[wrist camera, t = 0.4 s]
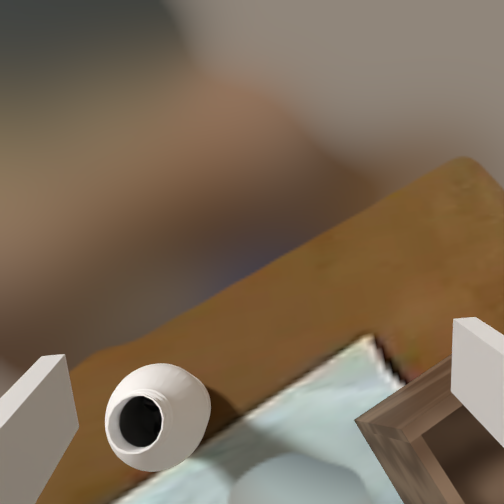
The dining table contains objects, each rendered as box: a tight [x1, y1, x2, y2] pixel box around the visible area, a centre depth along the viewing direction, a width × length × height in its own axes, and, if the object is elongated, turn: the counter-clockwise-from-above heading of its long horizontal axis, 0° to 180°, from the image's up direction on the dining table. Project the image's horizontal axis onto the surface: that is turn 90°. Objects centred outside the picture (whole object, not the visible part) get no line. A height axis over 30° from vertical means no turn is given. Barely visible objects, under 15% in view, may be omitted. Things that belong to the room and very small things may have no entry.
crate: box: [354, 354, 504, 504], centre depth 39 cm, size 20×15×12 cm
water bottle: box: [105, 363, 211, 472], centre depth 33 cm, size 7×7×25 cm
